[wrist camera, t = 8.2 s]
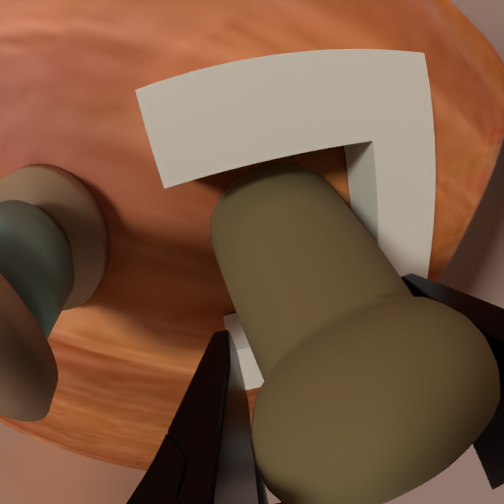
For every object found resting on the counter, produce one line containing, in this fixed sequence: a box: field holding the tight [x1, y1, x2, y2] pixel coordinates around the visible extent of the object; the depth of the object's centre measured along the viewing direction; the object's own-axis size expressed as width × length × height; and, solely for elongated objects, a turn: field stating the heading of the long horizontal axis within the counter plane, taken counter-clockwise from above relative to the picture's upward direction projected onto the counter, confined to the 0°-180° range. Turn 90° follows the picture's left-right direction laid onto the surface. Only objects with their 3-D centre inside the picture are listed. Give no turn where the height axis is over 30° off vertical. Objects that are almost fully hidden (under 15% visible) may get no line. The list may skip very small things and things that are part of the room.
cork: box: [210, 163, 501, 504], centre depth 8 cm, size 6×6×11 cm
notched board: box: [135, 49, 436, 390], centre depth 12 cm, size 14×10×2 cm
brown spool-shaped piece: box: [0, 164, 109, 421], centre depth 8 cm, size 7×7×8 cm
